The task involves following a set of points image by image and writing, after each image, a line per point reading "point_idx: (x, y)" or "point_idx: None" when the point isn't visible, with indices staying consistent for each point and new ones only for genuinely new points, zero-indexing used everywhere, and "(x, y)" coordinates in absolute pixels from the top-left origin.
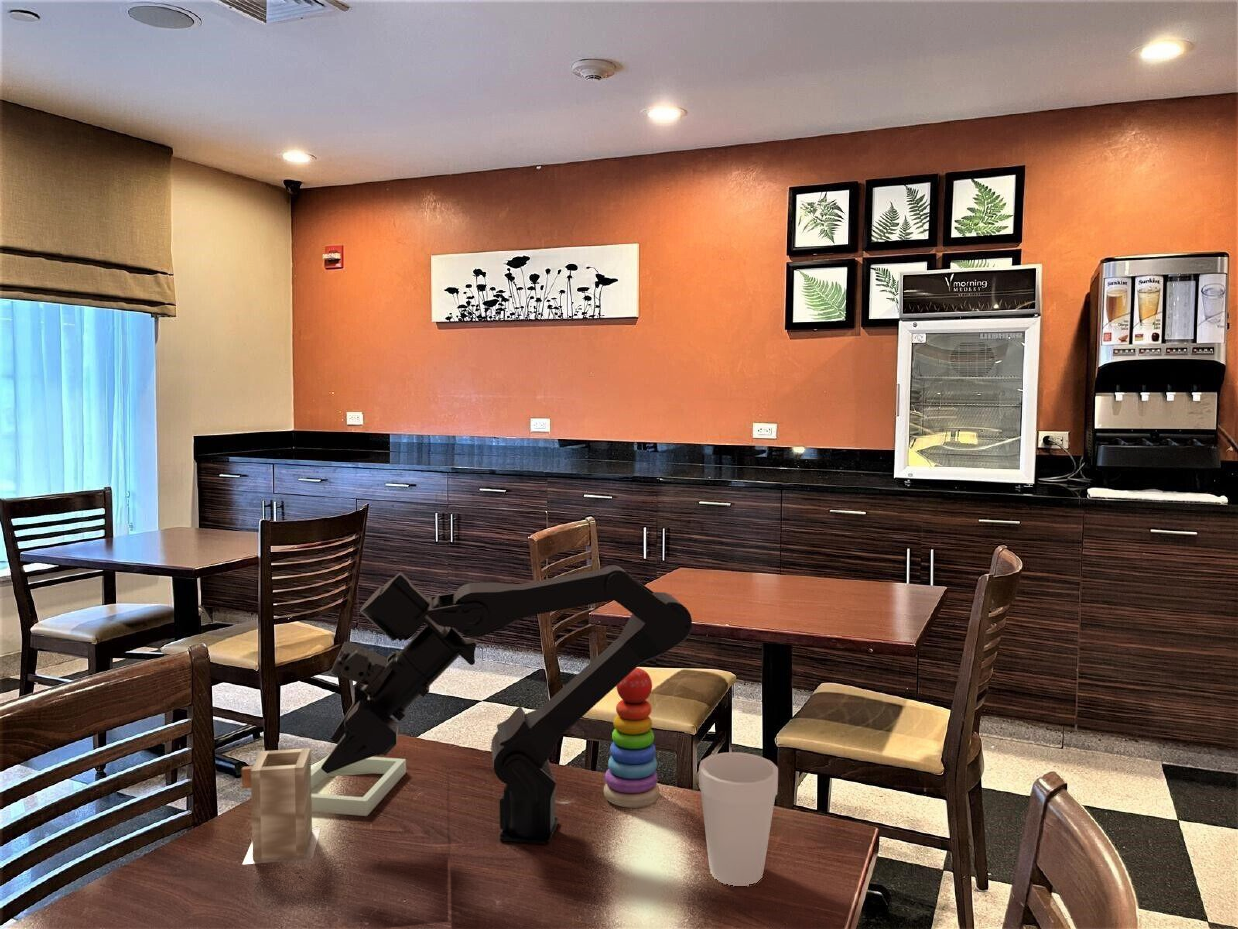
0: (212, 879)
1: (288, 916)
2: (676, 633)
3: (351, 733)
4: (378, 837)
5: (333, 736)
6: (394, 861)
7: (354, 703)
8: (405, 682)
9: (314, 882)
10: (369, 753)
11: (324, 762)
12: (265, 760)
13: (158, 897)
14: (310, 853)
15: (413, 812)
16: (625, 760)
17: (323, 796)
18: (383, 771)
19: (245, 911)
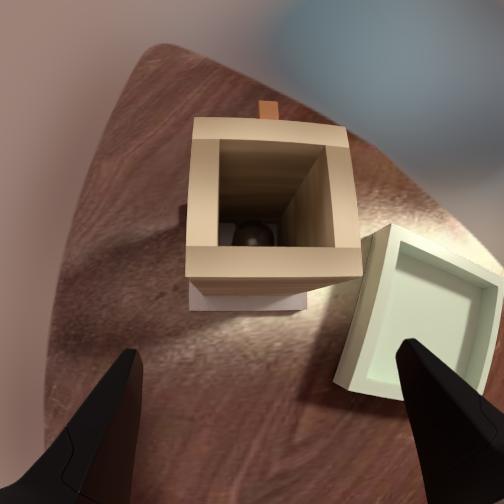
0: (184, 163)
1: (61, 289)
2: None
3: None
4: (276, 408)
5: (409, 350)
6: (188, 438)
7: (494, 447)
8: None
9: (139, 319)
10: None
11: (118, 363)
12: (287, 145)
13: (155, 114)
14: (207, 304)
15: (353, 446)
16: None
17: (380, 301)
18: (469, 372)
19: (86, 228)
